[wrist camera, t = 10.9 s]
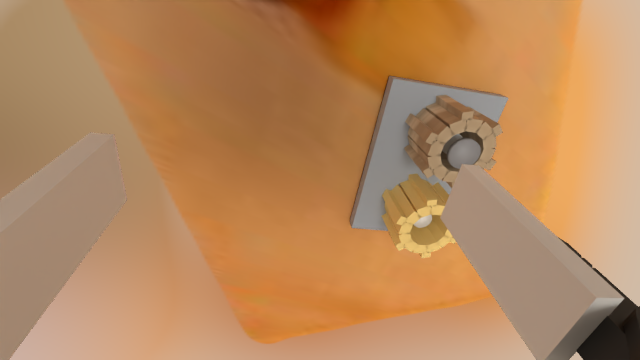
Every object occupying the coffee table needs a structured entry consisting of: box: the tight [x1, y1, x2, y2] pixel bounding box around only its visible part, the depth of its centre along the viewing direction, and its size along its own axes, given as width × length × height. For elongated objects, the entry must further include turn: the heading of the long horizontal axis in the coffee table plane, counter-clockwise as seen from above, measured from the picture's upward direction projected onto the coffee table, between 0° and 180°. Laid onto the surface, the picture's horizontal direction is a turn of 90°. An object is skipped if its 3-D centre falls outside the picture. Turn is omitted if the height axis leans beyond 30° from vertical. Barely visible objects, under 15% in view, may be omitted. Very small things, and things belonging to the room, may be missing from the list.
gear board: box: [350, 76, 508, 231], centre depth 38 cm, size 20×14×8 cm
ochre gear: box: [382, 174, 456, 258], centre depth 40 cm, size 8×8×6 cm
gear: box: [404, 95, 503, 188], centre depth 35 cm, size 8×8×6 cm
